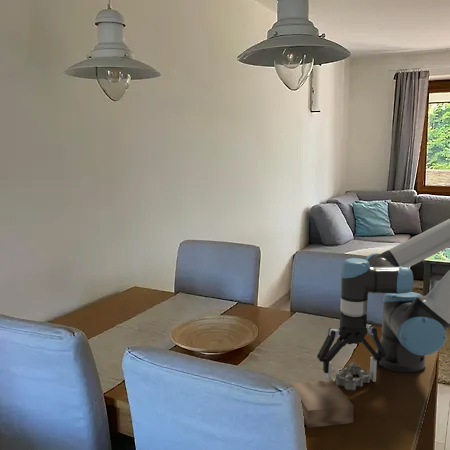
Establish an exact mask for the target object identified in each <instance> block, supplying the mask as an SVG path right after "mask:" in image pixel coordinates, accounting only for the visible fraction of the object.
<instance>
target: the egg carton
mask: <svg viewBox="0 0 450 450" xmlns="http://www.w3.org/2000/svg"><path fill="white" fill-rule="evenodd" d="M370 374H372V373H371V372H370V370H369V371H368V370H367V369H366V368H365V369H364V370H363V369H362V367H361V366H360V365H359V364H357V363H356V362H355V361H353V362H351V363H349V364H348V365H347V367H344V368H343V369H342V370H339V371H338V372H337V373H335V374H333V375H332V377H334V378H335V381H334V382H335V384H336V385H337V386H338V387H339V386H343V387H344V389H345V390H347V391H355V390H356V389H357V387H360V388H361V387H363V385H364V383H367V384H369V383H370V381H371V379H370ZM353 375H358V377H354V376H353Z"/></svg>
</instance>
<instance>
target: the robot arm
mask: <svg viewBox="0 0 450 450" xmlns="http://www.w3.org/2000/svg"><path fill="white" fill-rule="evenodd" d="M449 248H450V218H448V219H447V220H446V219H445V220H444V221H442V222H440V223H438V224H437V225H434V226H433V227H431V228H429V229H426V230H425V231H423V232H420V233H419V234H417V235H415V236H413V237H410V238H409V239H407V240H406V241H405V240H404V241H403V242H402V243H399V244H397V245H394V246H393V247H391V248H390V249H388V250H385V251H383V252H382V253H376V252H375V253H371V254H369V255H367V256H366V258H365V259H364V258H357V257H352V258H351V257H350V258H346V259H345V260H343V262H342V266H341V267H342V268H341V273H340V276H341V277H340V278H341V280H340V283H341V284H340V285H341V286H340V308H339V310H340V313H339V328H338V329H335V328H333V327H329V328H328V331H327V332H328V334H327V336H326V338H325V340H324V342H323V343H322V346H321V348H320V349H319V352H318V354H317V356H316V358H317V359H318V360H319V362H320V363H323V365H322V367H323V368H322V370H323V372H324V373H325V381H326V380H332V377H333V375H332V372H333V371H332V370H333V363H332V362H331V361H332V360H333V359H334V358H335V356H336V355H337V354H338V353H339V352H340V350H342V348H343V347H345V346H347V344H348V345H353V344H354V345H359V344H360V343H362V344H363V346H364V347H365V348H366V350H368V351H369V353H370V354H371V355H372V356H370V358H369V361H370V362H369V365H370V366H369V371H370V372H371V373H372V374H370V381H371V382H375V383H376V382H377V381H376V380H377V370H378V371H379V369H380V367H382V368H384V369H385V370H388V371H392V372H398V373H406V374H407V373H417V372H420V371H422V370H424V369H425V367H426V357H425V356H430V355H433V354H435V353H437V352H438V351H439V350H441V349H442V348H443V346H444V344H445V342H446V332H447V330H449V328H450V269H449V270H448V271H447V272H446V273H445V274H444V276H442V278H440V280H439V281H438V282H437V283H436V284H435V285H434V286H433V288H431V290H430V291H429V292H428V293H427V294H426V295H422V294H421V293H418V292H413V291H412V289H413V288H414V274H413V270H412V269H411V268H410V267H413V266H415V265H416V264H418V263H421V262H422V261H425V260H426V259H428V258H431V257H432V256H434V255H436V254H439V253H440V252H442V251H444V250H447V249H449ZM369 294H384V295H383V300H382V319H381V321H382V323H381V324H382V325H381V337H380V339H379V337H378V330H377V328H376V327H375V326H374V325H370V326H369V327H367V323H368V322H367V320H368V314H367V313H368V305H369V304H368V302H369V300H368V299H369ZM367 334H368V335H369V336H370V337H371V339H372V341H373V344H374V345H375V347H376V350H375V349H374V348H373V347H372V346H371V344H370V343H369V342H368V341H367V340H366V338H365V337H366V336H367ZM338 335H339V336H338ZM337 336H338V338H337ZM336 338H337V339H336ZM335 339H336V341H335ZM334 341H335V343H334ZM333 343H334V344H333Z"/></svg>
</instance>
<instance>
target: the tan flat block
mask: <svg viewBox="0 0 450 450" xmlns="http://www.w3.org/2000/svg"><path fill="white" fill-rule="evenodd" d="M291 385H293V386H294V387H296V389H297V390H298V392H299V394H300V397H301V403H302V409H303V416H304V421H303V422H304V424H305V426H306V427H307V428H308V429H309V428H310V429H312V428H318V427H319V428H320V427H326V426H327V427H328V426H336V425H337V426H338V425H345V424H351V423H352V424H353V423H354V410H355V409H354V408H355V405H354V404H353V403H352V402H351V400H350V399H349V398H348V397H347V396H346V394H345V393H344V392H343V391H342V390H341V388H340V387H339V386H338V385H336V382H335V381H334V380H333V379H331V380H326V379H325V380H318V381H309V382H297V383H291V384H290V386H291Z"/></svg>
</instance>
